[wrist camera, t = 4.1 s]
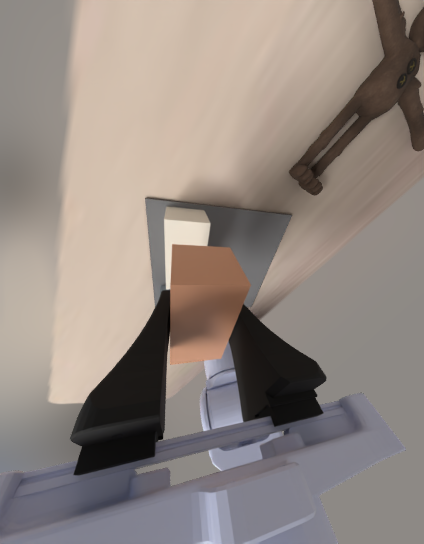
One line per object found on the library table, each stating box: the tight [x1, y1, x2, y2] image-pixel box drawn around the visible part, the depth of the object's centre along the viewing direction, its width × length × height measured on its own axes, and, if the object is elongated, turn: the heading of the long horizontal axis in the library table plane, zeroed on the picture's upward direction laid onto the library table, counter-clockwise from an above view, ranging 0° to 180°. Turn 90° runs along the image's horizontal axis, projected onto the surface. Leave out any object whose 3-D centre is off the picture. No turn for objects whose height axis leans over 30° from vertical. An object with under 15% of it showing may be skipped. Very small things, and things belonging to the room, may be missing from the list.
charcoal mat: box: [145, 198, 292, 307], centre depth 22 cm, size 17×17×1 cm
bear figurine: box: [289, 0, 424, 195], centre depth 13 cm, size 18×4×14 cm
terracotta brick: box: [170, 244, 251, 365], centre depth 11 cm, size 8×4×4 cm, turn 171°
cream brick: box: [164, 206, 211, 289], centre depth 17 cm, size 8×4×4 cm, turn 171°
